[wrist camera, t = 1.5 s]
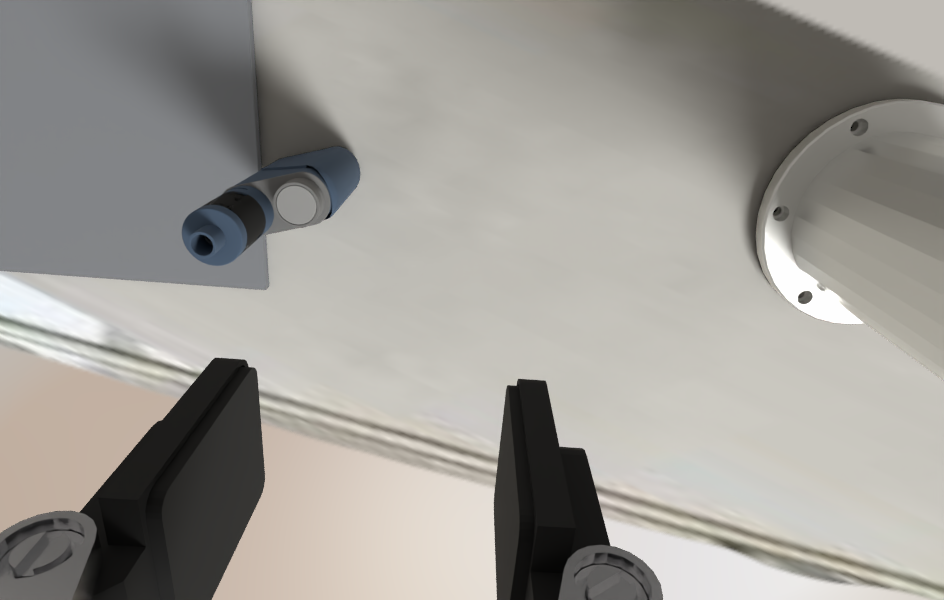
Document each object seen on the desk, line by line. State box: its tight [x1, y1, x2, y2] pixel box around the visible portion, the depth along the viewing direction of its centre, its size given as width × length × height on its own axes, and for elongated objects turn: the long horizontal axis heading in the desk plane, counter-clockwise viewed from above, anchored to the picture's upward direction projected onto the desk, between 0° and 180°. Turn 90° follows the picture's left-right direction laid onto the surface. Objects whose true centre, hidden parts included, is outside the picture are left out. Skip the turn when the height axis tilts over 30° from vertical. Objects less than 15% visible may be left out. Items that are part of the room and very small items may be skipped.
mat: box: [0, 0, 269, 290], centre depth 32 cm, size 16×16×1 cm
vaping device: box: [182, 146, 360, 266], centre depth 28 cm, size 3×5×12 cm, turn 102°
